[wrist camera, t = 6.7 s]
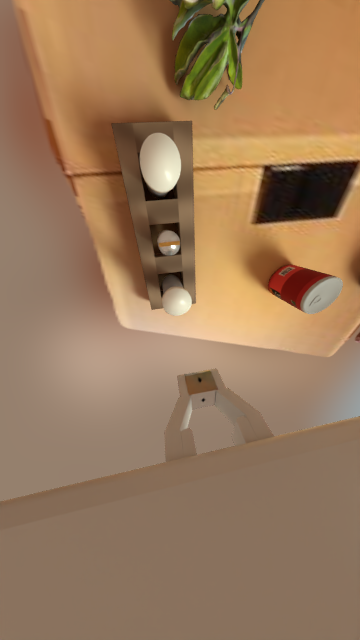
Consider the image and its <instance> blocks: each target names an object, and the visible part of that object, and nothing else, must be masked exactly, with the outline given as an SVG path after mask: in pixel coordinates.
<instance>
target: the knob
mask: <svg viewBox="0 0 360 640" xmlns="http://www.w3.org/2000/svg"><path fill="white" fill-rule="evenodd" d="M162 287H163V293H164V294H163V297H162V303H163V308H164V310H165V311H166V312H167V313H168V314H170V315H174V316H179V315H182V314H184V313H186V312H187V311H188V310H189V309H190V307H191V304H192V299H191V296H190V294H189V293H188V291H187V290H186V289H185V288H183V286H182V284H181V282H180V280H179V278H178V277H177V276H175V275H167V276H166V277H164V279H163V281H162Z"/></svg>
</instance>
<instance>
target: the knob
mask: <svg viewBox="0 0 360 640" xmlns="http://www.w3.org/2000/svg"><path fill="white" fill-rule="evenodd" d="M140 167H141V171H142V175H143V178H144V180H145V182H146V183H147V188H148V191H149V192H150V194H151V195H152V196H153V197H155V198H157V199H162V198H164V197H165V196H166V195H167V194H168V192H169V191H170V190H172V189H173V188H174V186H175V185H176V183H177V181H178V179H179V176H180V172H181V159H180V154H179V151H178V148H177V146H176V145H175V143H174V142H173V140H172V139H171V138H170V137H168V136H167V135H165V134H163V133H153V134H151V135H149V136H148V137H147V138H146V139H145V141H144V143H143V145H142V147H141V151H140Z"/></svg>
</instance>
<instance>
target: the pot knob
mask: <svg viewBox="0 0 360 640" xmlns="http://www.w3.org/2000/svg"><path fill="white" fill-rule="evenodd" d="M157 243H158V246H159V249H160V251H161V252H162V253H163V254H165V255H167V256H172V255H174V254H176V253H177V252H178V250H179V248H180V239H179V237H178V235H177V234H176V233H174V232H173V231H169V230H162V231H161V232H160V233H159V234H158V236H157Z"/></svg>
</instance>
